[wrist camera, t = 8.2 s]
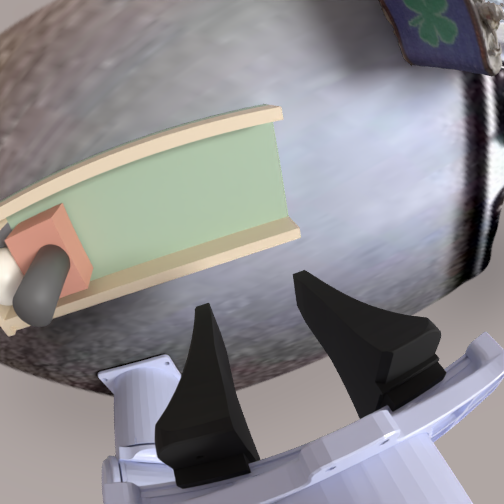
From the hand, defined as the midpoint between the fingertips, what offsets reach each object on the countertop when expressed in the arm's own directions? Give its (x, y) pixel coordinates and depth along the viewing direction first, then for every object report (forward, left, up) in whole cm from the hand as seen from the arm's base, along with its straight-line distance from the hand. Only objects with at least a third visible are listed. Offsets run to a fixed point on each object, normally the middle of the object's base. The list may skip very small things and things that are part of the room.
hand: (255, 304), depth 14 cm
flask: (+14, -18, -10) cm, 25 cm away
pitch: (+3, +7, -9) cm, 12 cm away
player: (+3, +11, -8) cm, 14 cm away
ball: (+3, +16, -6) cm, 17 cm away
